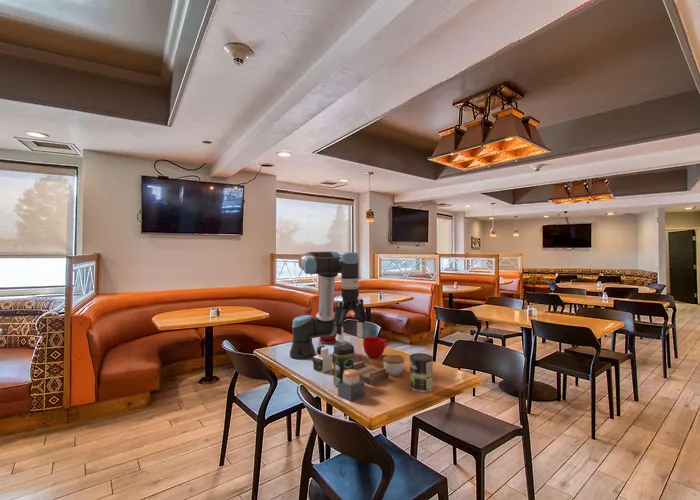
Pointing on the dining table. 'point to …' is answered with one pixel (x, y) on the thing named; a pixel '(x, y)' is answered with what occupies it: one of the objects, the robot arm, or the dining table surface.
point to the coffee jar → (343, 360)
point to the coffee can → (421, 372)
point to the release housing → (351, 390)
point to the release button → (351, 377)
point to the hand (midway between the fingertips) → (350, 339)
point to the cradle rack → (371, 374)
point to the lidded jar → (393, 364)
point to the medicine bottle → (322, 360)
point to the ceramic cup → (374, 347)
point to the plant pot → (328, 339)
